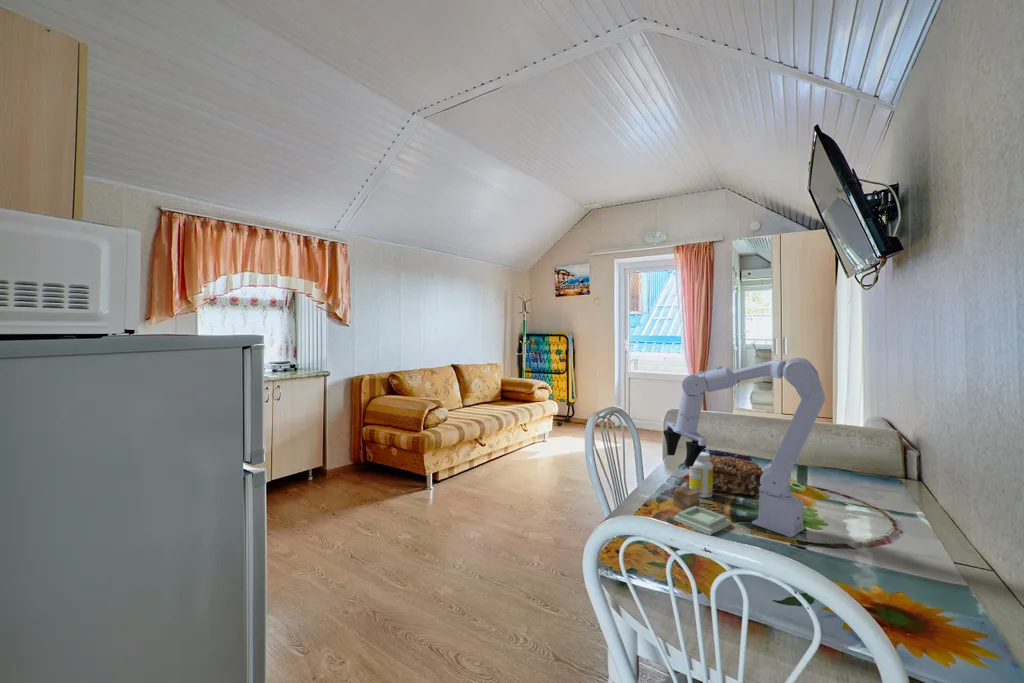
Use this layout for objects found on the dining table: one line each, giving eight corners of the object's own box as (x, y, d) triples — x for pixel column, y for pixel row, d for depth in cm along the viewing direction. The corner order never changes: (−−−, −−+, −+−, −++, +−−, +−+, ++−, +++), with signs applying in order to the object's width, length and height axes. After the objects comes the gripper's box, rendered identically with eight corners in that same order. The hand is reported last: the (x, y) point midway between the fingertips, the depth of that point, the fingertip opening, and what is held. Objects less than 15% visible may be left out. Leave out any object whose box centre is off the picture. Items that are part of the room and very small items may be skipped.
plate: (730, 524, 113) (730, 516, 113) (710, 535, 107) (710, 526, 107) (694, 511, 121) (694, 504, 121) (673, 520, 115) (673, 512, 115)
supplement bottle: (707, 491, 137) (709, 450, 137) (715, 499, 131) (716, 456, 130) (686, 490, 138) (687, 449, 138) (692, 498, 131) (693, 455, 131)
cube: (699, 508, 123) (699, 491, 123) (689, 512, 120) (689, 495, 120) (682, 503, 127) (683, 486, 127) (673, 507, 124) (673, 489, 124)
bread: (696, 489, 139) (697, 458, 139) (696, 479, 149) (697, 450, 149) (763, 498, 132) (764, 466, 132) (758, 487, 142) (759, 457, 142)
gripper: (660, 407, 130) (652, 450, 132) (696, 423, 117) (686, 471, 118) (679, 408, 133) (670, 450, 134) (716, 424, 119) (706, 470, 121)
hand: (679, 460), depth 126 cm, fingers open, 7 cm apart
